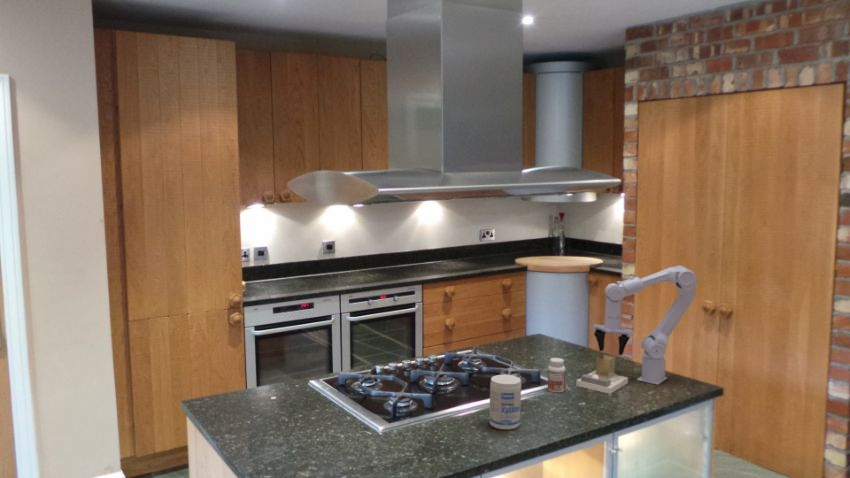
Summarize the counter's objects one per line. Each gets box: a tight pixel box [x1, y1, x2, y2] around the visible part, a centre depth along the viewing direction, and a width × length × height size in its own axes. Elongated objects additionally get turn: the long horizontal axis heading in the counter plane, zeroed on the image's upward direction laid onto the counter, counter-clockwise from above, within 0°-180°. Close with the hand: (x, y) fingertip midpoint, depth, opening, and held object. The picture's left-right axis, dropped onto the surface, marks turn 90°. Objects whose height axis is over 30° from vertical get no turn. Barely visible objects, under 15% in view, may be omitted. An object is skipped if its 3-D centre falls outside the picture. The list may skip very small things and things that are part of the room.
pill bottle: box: [547, 357, 567, 393], centre depth 249 cm, size 6×6×11 cm
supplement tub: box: [488, 374, 522, 431], centre depth 218 cm, size 10×10×15 cm
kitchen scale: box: [576, 369, 629, 395], centre depth 255 cm, size 15×13×5 cm
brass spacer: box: [595, 354, 616, 379], centre depth 256 cm, size 5×5×7 cm
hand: (611, 352), depth 259 cm, fingers open, 7 cm apart
